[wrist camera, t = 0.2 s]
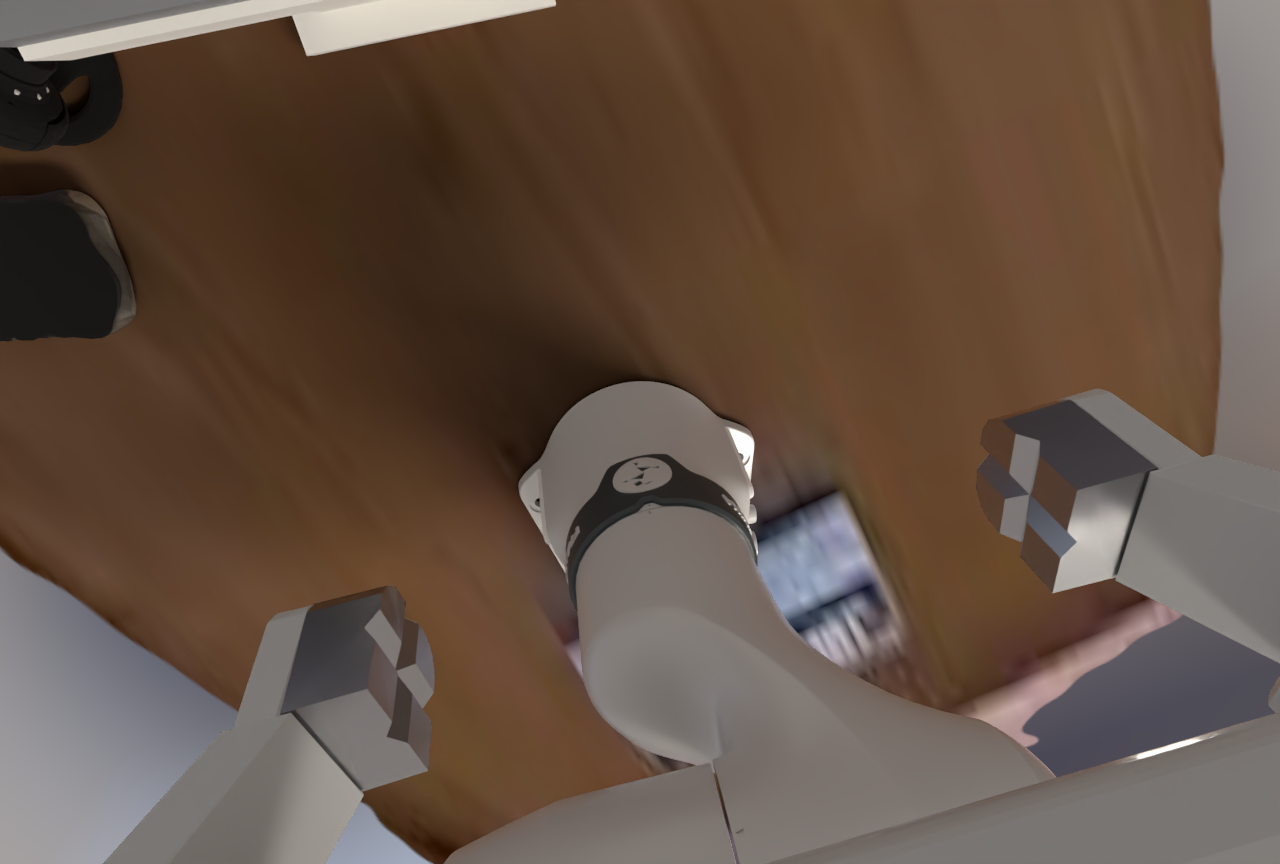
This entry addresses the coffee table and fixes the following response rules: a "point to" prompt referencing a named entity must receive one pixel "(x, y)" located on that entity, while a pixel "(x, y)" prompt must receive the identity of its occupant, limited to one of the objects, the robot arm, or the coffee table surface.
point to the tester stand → (229, 21)
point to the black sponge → (60, 269)
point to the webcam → (55, 100)
